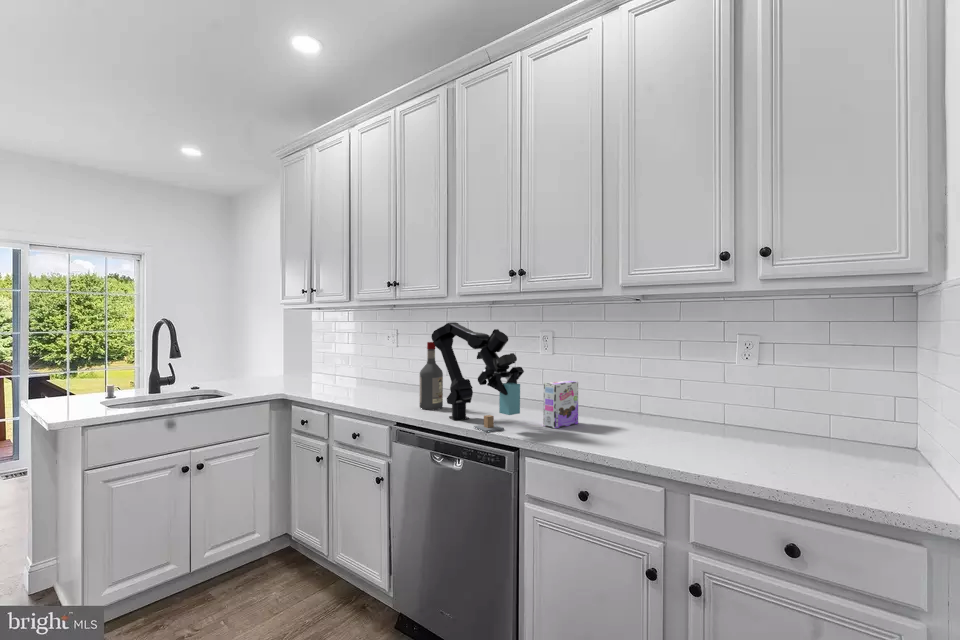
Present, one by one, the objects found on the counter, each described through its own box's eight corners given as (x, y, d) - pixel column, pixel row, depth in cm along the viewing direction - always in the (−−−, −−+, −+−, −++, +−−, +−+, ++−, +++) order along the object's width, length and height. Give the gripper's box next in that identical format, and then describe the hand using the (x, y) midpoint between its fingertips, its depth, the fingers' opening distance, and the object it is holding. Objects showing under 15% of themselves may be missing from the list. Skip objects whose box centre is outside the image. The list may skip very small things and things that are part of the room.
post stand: (473, 428, 173) (473, 415, 173) (491, 425, 177) (491, 413, 177) (485, 432, 166) (485, 419, 166) (504, 429, 170) (504, 416, 170)
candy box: (554, 429, 172) (554, 384, 172) (542, 426, 176) (542, 382, 176) (578, 424, 180) (578, 381, 180) (567, 421, 185) (566, 379, 185)
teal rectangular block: (499, 412, 168) (499, 383, 168) (509, 411, 172) (510, 382, 172) (509, 415, 164) (509, 385, 164) (519, 413, 168) (520, 384, 168)
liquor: (417, 409, 211) (417, 342, 211) (426, 405, 219) (426, 341, 220) (436, 410, 208) (436, 342, 208) (444, 406, 217) (444, 341, 217)
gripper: (483, 346, 165) (504, 381, 156) (520, 345, 177) (542, 377, 168) (468, 367, 171) (488, 401, 162) (506, 364, 183) (526, 396, 175)
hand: (512, 393), depth 167 cm, fingers closed on teal rectangular block, 5 cm apart
